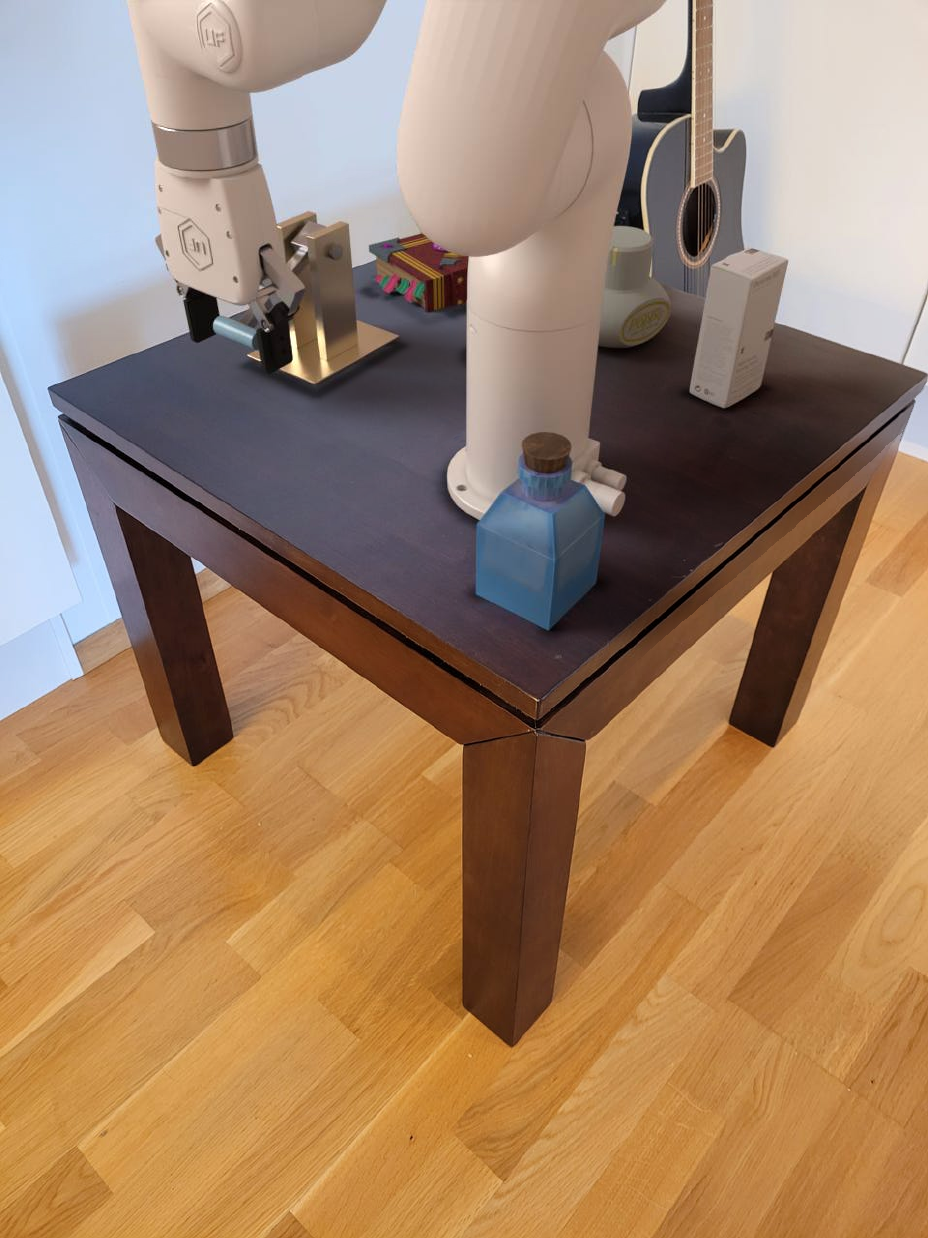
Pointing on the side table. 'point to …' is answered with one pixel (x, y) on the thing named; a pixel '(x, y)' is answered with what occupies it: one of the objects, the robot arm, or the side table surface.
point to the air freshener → (631, 292)
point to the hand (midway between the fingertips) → (241, 351)
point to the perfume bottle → (540, 536)
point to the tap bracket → (326, 306)
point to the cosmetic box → (737, 326)
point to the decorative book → (421, 271)
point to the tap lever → (247, 323)
